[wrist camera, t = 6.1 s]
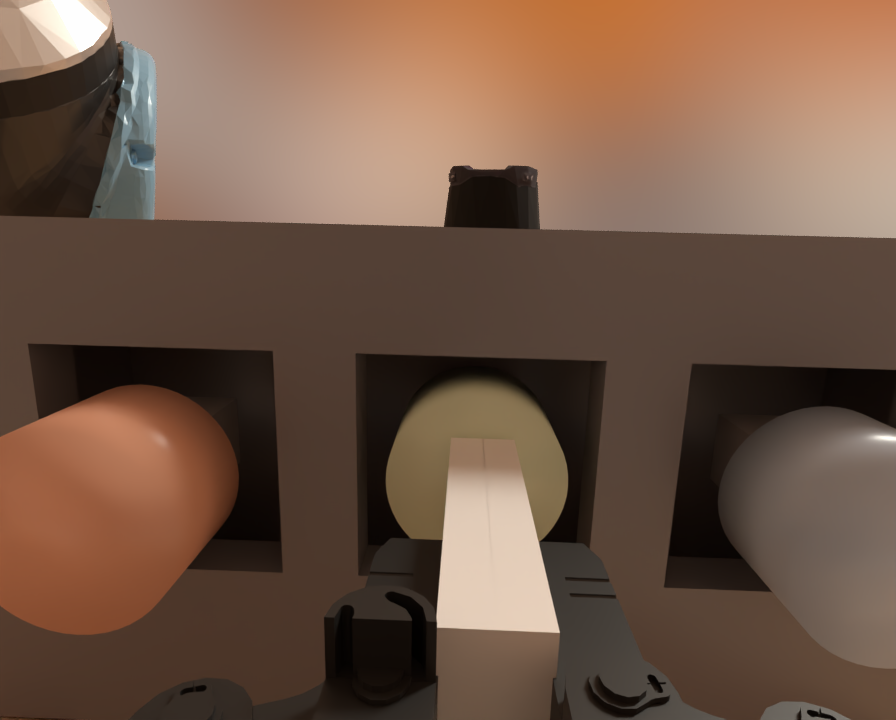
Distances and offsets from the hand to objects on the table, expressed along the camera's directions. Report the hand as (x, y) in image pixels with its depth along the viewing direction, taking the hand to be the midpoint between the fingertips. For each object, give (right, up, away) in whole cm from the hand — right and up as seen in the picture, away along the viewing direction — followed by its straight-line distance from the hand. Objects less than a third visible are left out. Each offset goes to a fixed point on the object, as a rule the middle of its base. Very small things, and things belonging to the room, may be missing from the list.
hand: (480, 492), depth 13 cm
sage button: (0, -1, +4) cm, 4 cm away
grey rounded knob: (+8, -2, +1) cm, 8 cm away
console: (0, -7, +6) cm, 9 cm away
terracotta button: (-8, -2, +1) cm, 8 cm away
